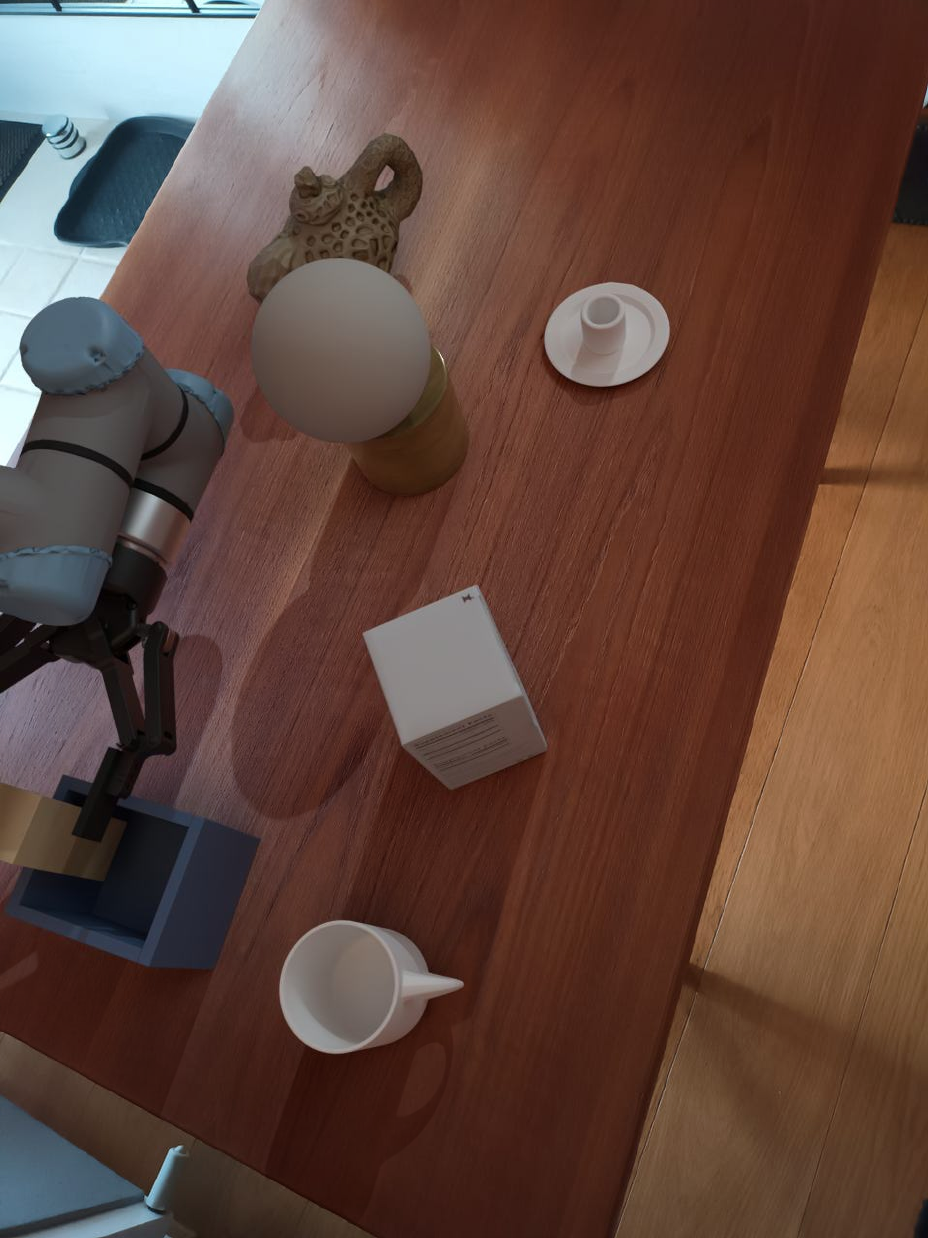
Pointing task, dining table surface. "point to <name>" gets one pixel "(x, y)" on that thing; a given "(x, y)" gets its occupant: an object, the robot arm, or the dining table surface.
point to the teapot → (343, 215)
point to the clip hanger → (52, 836)
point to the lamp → (360, 373)
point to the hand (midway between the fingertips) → (8, 813)
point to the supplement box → (454, 690)
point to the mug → (356, 987)
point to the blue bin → (146, 887)
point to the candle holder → (607, 334)
